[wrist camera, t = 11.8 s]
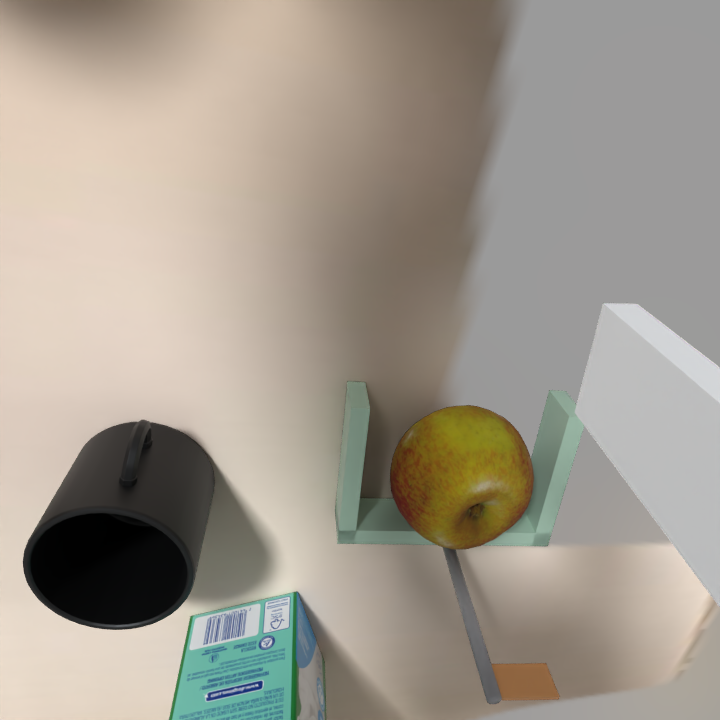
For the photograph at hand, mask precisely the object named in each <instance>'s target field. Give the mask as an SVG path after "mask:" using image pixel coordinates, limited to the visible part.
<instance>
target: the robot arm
mask: <svg viewBox="0 0 720 720" xmlns="http://www.w3.org/2000/svg"><path fill="white" fill-rule="evenodd" d="M574 413H575V414H576V415H577V417H578V418H579V419H580V421H581V422H582V423H583V425H584V426H585V427H586V429H587V430H588V431H589V433H590V434H591V435H592V437H593V438H594V439H595V440H596V442H597V443H598V445H599V446H600V447H601V449H602V450H603V451H604V453H605V454H606V455H607V457H608V458H609V459H610V461H611V462H612V463H613V465H614V466H615V468H616V469H617V470H618V472H619V473H620V474H621V475H622V477H623V478H624V480H625V481H626V482H627V484H628V485H629V486H630V488H631V489H632V490H633V492H634V493H635V494H636V496H637V497H638V498H639V500H640V501H641V502H642V504H643V505H644V506H645V508H646V509H647V510H648V512H649V513H650V514H651V516H652V517H653V518H654V520H655V521H656V523H657V524H658V525H659V527H660V528H661V529H662V531H663V532H664V533H665V535H666V536H667V537H668V538H669V540H670V541H671V543H672V544H673V545H674V547H675V548H676V549H677V551H678V552H679V553H680V555H681V556H682V557H683V559H684V560H685V561H686V563H687V564H688V565H689V567H690V568H691V569H692V571H693V572H694V574H695V575H696V576H697V578H698V579H699V580H700V582H701V583H702V584H703V586H704V587H705V588H706V590H707V591H708V592H709V594H710V595H711V596H712V598H713V599H714V600H715V602H716V603H717V604H718V606H719V607H720V368H719V367H718V366H717V365H716V364H715V363H713V362H712V361H711V360H709V359H708V358H707V357H706V356H704V355H703V354H702V353H700V352H699V351H697V350H696V349H695V348H694V347H693V346H691V345H690V344H689V343H687V342H686V341H685V340H683V339H682V338H681V337H680V336H678V335H677V334H676V333H674V332H673V331H672V330H670V329H669V328H668V327H667V326H665V325H664V324H663V323H661V322H660V321H659V320H658V319H656V318H655V317H654V316H652V315H651V314H650V313H648V312H647V311H646V310H645V309H643V308H642V307H641V306H639V305H638V304H617V303H603V305H602V309H601V313H600V317H599V321H598V324H597V328H596V332H595V336H594V340H593V344H592V348H591V351H590V355H589V359H588V363H587V367H586V371H585V374H584V378H583V382H582V386H581V390H580V394H579V397H578V401H577V405H576V409H575V412H574Z"/></svg>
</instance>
